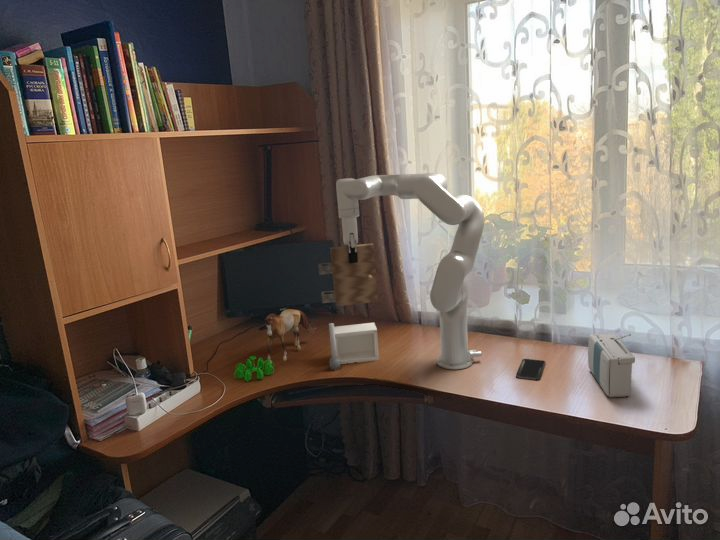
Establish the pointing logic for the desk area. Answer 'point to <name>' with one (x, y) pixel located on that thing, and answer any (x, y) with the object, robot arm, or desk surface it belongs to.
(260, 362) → the green lumpy cluster
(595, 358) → the stereo radio cassette player
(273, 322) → the horse figurine
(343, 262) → the walnut door
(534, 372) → the phone
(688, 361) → the desk surface
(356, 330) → the cabinet
